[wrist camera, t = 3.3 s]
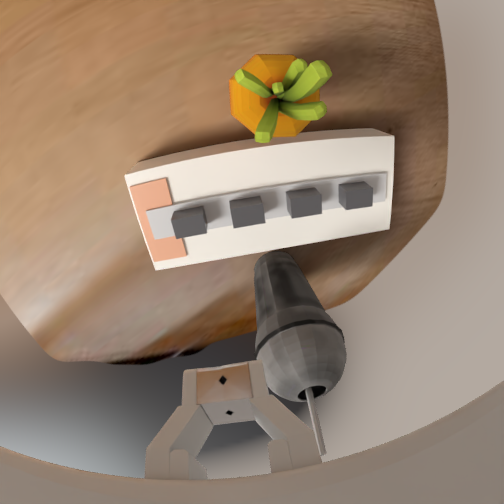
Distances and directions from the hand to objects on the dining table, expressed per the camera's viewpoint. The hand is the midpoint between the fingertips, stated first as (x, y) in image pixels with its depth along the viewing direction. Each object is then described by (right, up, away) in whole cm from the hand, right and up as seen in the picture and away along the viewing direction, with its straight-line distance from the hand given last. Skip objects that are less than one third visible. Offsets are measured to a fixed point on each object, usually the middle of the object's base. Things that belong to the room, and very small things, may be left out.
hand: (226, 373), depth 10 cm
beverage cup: (+3, +3, +21) cm, 22 cm away
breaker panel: (+2, +11, +16) cm, 19 cm away
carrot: (+1, +18, +12) cm, 21 cm away
